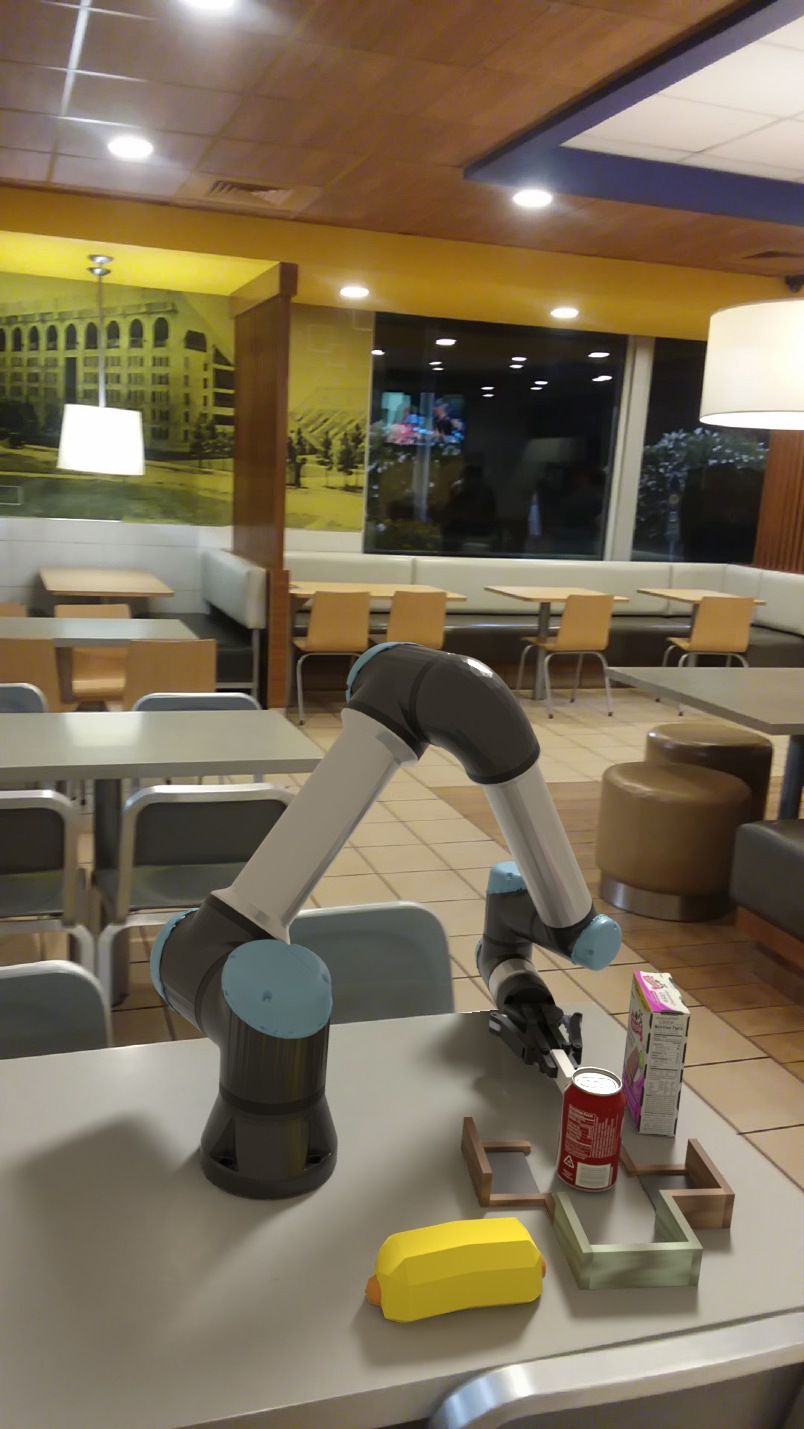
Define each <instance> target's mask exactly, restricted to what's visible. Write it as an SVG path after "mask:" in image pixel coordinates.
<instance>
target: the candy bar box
mask: <svg viewBox="0 0 804 1429" xmlns="http://www.w3.org/2000/svg"><path fill="white" fill-rule="evenodd" d="M631 981H632V982H631V990H630V999H629V1000H630V1002H629V1009H628V1018H627V1028H626V1029H627V1030H626V1037H625V1048H624V1058H623V1065H622V1066H623V1067H622V1076H621V1082H622V1091H623V1093H624V1095H625V1097H626V1105H627V1107H628V1109H629V1112H630V1115H631V1117H632V1121H633V1124H634V1126H635V1127H634V1128H635V1130H636V1134H638V1135H642V1136H651V1137H668V1138H669V1137H671V1138H674V1137H675V1138H676V1134H677V1128H678V1126H677V1125H678V1117H679V1112H680V1102H681V1095H682V1094H681V1093H682V1086H683V1078H684V1077H683V1076H684V1071H685V1070H684V1069H685V1060H686V1053H687V1045H688V1035H689V1028H690V1019H691V1012H690V1010H689V1009H688V1006H687V1005H686V1002H685V1000H684V999H683V996H682V995H681V992H680V991H679V988H678V987H677V985H676V983H675V980H674V979H673V977H672V975H671V973H669V972H656V971H645V970H636V971H635V970H634V971H633V972H632V980H631Z"/></svg>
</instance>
